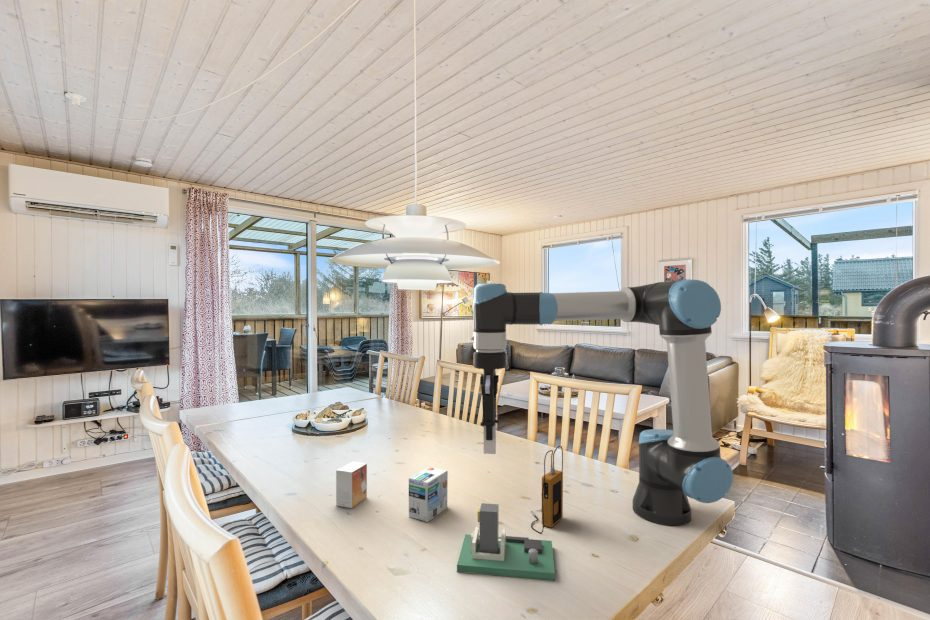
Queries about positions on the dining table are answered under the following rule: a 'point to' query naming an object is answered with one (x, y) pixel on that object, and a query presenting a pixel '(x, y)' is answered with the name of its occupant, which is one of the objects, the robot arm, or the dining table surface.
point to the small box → (351, 484)
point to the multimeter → (551, 496)
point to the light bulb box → (428, 493)
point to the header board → (508, 557)
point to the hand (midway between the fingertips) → (489, 452)
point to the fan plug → (488, 528)
